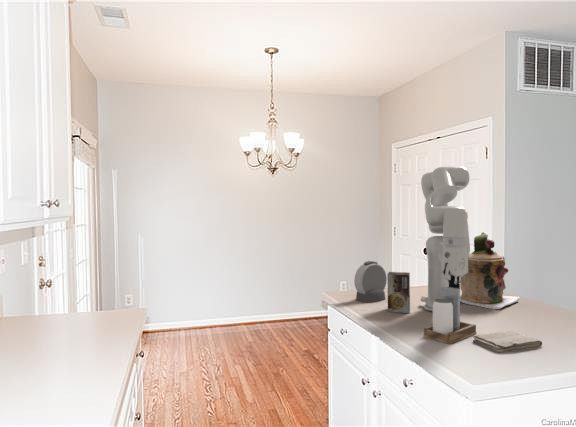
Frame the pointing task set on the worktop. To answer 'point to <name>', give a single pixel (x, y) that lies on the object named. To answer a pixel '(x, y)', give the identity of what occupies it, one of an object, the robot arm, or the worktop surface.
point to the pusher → (454, 296)
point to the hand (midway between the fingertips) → (454, 294)
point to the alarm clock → (370, 282)
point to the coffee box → (398, 292)
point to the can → (443, 316)
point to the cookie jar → (485, 277)
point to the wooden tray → (453, 337)
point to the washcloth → (506, 341)
